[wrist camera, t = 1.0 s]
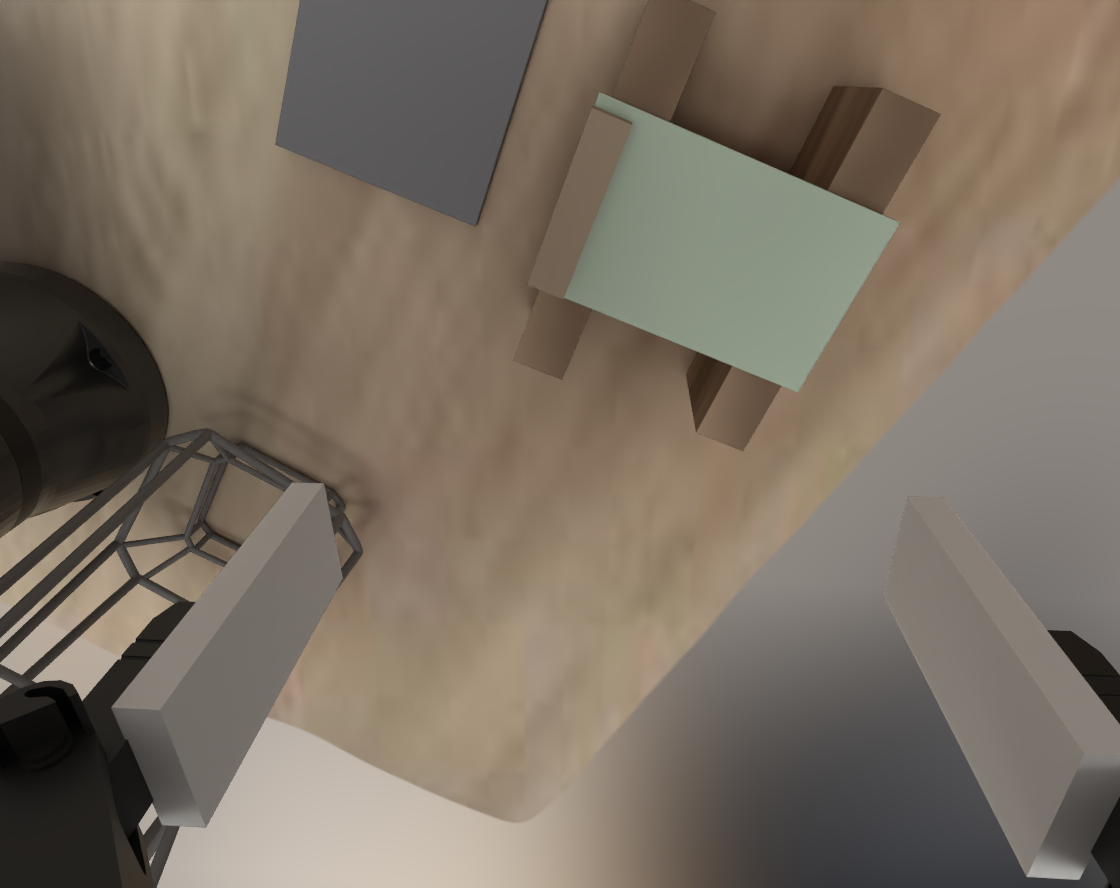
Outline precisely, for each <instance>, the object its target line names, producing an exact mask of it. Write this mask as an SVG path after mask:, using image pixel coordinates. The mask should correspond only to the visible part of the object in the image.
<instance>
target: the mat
mask: <svg viewBox="0 0 1120 888" xmlns="http://www.w3.org/2000/svg"><path fill="white" fill-rule="evenodd" d="M547 3H548V0H300V4H299V9H298V15H297V21H296V27H295V33H294V39H293V44H292V50H291V56H290V62H289V68H288V74H287V80H286V85H285V91H284V97H283V103H282V109H281V115H280V120H279V126H278V132H277V138H276V144H275V145H277V146H280V147H282V148H285V149H287V150H290V151H292V152H295V153H297V154H299V155H302V156H304V157H307V158H309V159H312V160H314V161H317V162H319V163H321V164H324V165H326V166H329V167H331V168H334V169H336V170H338V171H341V172H343V173H346V174H348V175H351V176H353V177H356V178H358V179H360V180H363V181H365V182H368V183H370V184H373V185H375V186H377V187H380V188H382V189H385V190H387V191H390V192H392V193H395V194H397V195H399V196H402V197H404V198H407V199H409V200H412V201H414V202H417V203H419V204H421V205H424V206H426V207H429V208H431V209H434V210H436V211H438V212H441V213H443V214H446V215H448V216H451V217H453V218H456V219H458V220H460V221H463V222H465V223H468V224H470V225H473V226H476V225H477V224H478V220H479V217H480V214H481V211H482V208H483V205H484V202H485V198H486V195H487V192H488V189H489V186H490V183H491V179H492V176H493V173H494V170H495V167H496V164H497V161H498V157H499V154H500V151H501V148H502V145H503V142H504V138H505V135H506V132H507V129H508V126H509V123H510V120H511V116H512V113H513V110H514V107H515V104H516V101H517V97H518V94H519V91H520V88H521V85H522V82H523V79H524V75H525V72H526V69H527V66H528V63H529V60H530V56H531V53H532V50H533V47H534V44H535V41H536V38H537V34H538V31H539V28H540V25H541V22H542V19H543V15H544V12H545V9H546V6H547Z"/></svg>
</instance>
